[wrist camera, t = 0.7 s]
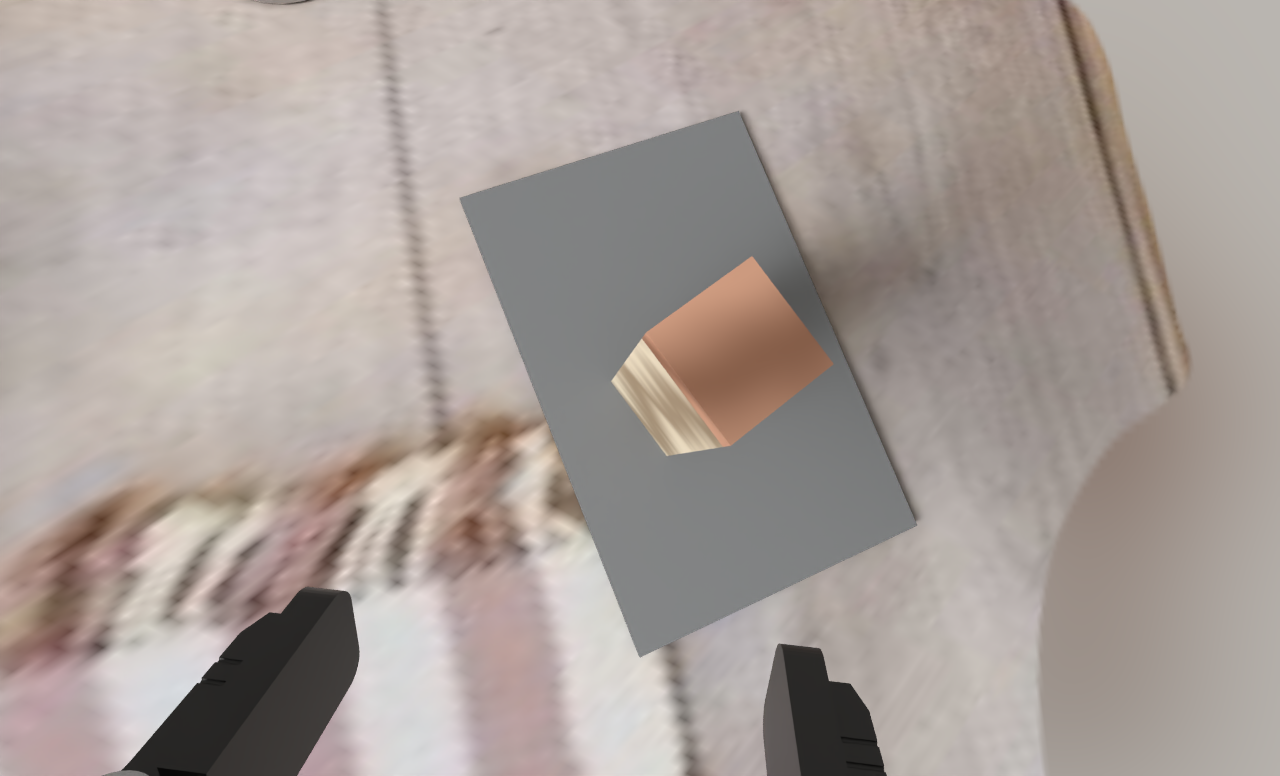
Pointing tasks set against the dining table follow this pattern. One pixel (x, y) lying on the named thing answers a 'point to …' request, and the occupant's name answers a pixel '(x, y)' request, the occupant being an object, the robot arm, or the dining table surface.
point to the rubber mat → (611, 329)
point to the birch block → (720, 364)
